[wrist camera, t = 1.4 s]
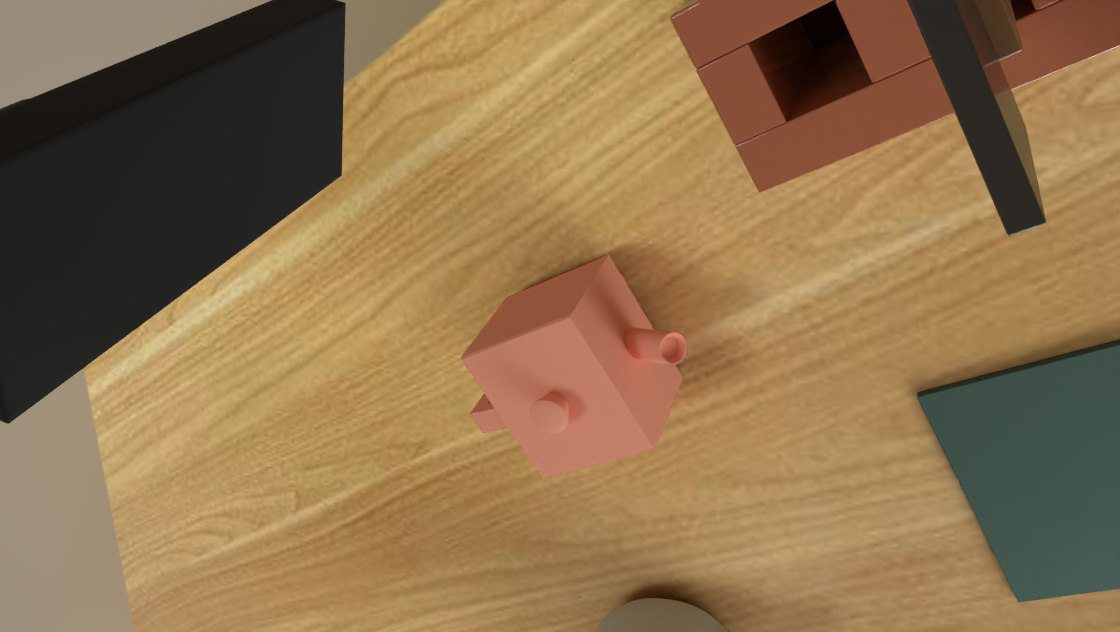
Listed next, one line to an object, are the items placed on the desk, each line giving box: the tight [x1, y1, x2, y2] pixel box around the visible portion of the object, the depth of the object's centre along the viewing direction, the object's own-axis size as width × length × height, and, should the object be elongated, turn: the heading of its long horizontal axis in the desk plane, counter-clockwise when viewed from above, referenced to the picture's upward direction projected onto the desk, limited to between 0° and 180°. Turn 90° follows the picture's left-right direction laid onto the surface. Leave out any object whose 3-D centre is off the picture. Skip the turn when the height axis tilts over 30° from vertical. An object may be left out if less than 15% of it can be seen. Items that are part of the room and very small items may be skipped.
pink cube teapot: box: [461, 255, 688, 479], centre depth 46 cm, size 8×12×8 cm, turn 124°
